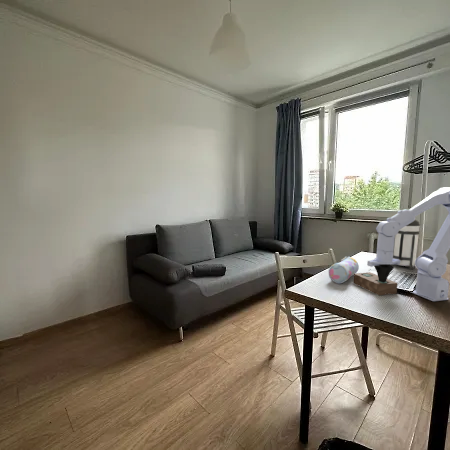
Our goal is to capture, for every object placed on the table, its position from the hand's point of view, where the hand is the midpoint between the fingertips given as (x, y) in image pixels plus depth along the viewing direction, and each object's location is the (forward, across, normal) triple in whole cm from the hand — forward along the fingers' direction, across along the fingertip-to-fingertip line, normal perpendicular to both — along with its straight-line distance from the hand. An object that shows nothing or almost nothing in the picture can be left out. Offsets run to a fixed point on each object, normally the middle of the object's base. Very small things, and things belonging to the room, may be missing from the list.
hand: (382, 281), depth 100 cm
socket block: (+4, 0, -4) cm, 6 cm away
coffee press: (+4, -42, -27) cm, 50 cm away
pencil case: (+5, +4, -17) cm, 19 cm away
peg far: (+4, 0, -8) cm, 9 cm away
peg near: (+4, 0, 0) cm, 4 cm away
